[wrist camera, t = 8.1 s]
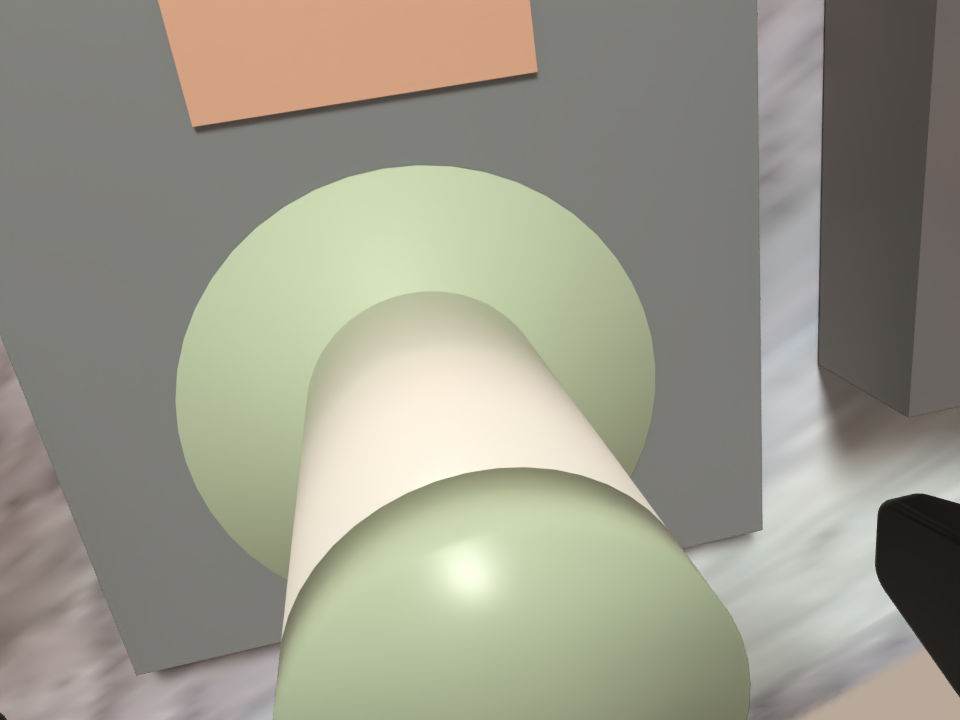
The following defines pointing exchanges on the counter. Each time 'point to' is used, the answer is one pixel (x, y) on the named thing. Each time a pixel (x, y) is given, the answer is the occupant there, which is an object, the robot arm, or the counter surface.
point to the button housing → (892, 201)
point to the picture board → (363, 254)
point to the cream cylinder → (482, 544)
